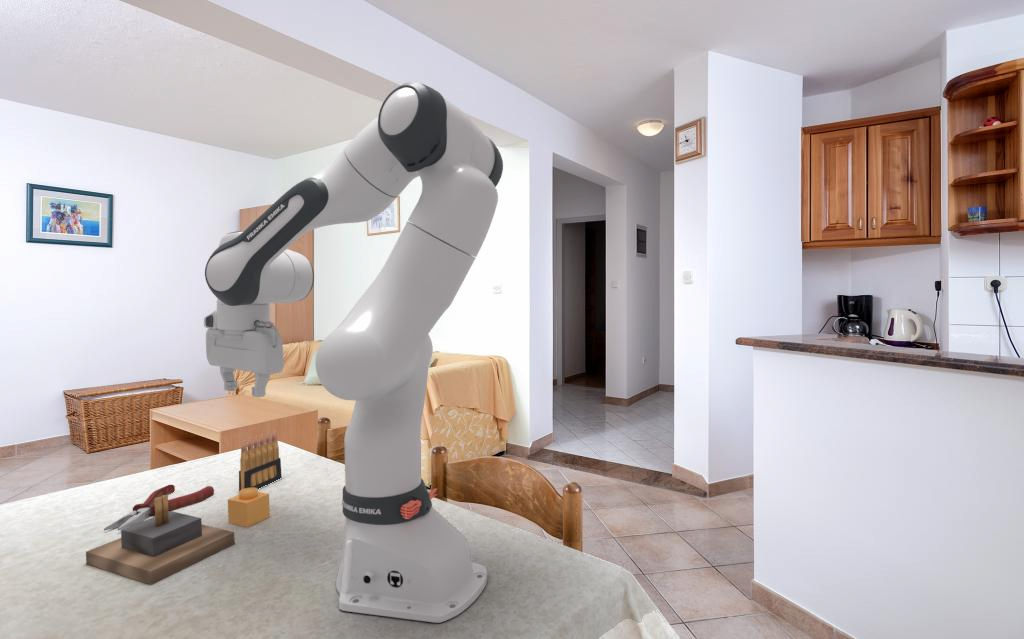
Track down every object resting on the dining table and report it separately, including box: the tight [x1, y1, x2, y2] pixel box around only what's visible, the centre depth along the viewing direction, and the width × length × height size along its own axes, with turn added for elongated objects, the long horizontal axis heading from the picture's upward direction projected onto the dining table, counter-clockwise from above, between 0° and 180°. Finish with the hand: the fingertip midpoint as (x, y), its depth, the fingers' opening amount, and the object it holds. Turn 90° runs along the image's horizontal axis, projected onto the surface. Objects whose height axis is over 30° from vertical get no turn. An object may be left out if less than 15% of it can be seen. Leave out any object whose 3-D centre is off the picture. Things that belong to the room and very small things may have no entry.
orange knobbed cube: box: [227, 487, 271, 528], centre depth 99 cm, size 5×5×6 cm
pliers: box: [103, 484, 215, 531], centre depth 104 cm, size 12×20×3 cm, turn 172°
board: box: [85, 495, 235, 585], centre depth 86 cm, size 16×14×10 cm
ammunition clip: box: [238, 428, 283, 492], centre depth 117 cm, size 11×2×12 cm, turn 161°
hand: (244, 393), depth 97 cm, fingers open, 8 cm apart
